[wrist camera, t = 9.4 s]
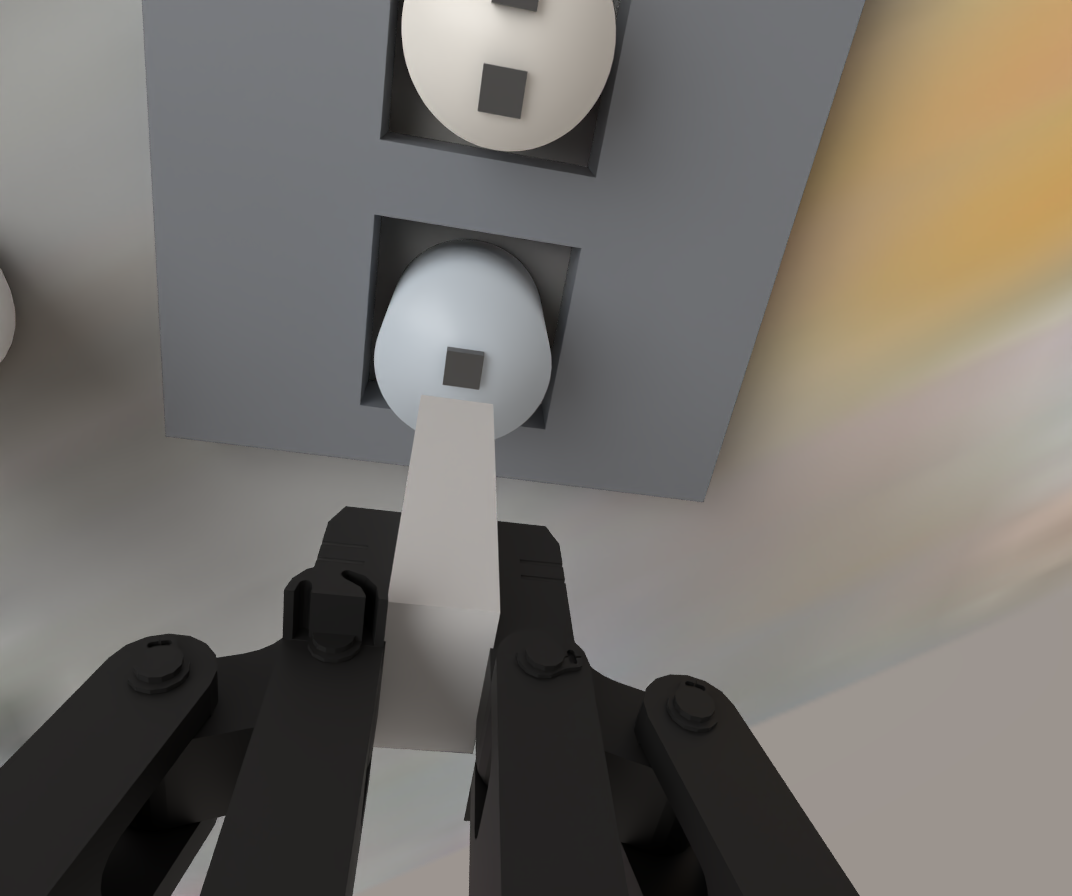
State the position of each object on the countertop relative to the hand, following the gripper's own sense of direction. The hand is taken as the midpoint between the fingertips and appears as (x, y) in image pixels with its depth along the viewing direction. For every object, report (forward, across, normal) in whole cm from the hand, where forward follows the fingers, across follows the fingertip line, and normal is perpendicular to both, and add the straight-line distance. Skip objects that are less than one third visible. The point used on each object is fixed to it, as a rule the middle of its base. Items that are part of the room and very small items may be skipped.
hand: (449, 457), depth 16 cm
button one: (+10, 0, 0) cm, 10 cm away
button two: (+10, 0, +8) cm, 12 cm away
